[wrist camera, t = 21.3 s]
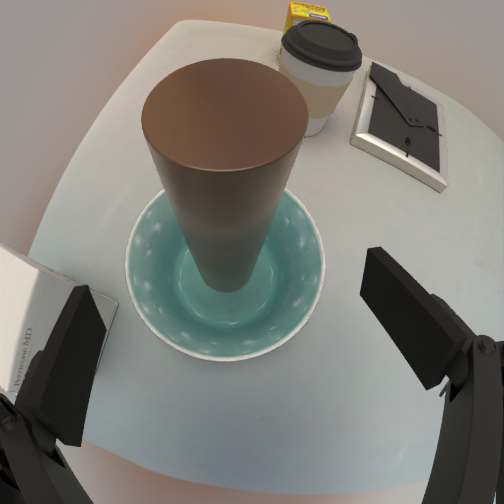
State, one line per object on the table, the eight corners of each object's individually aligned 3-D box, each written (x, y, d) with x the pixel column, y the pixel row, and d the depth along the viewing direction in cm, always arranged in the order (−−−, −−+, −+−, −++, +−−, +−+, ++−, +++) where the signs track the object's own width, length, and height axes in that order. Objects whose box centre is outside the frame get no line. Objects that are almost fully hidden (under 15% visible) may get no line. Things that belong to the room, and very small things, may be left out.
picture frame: (367, 72, 42) (349, 143, 36) (372, 61, 39) (357, 131, 33) (438, 111, 41) (440, 193, 35) (445, 102, 39) (450, 184, 33)
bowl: (129, 245, 30) (100, 215, 22) (256, 186, 33) (264, 142, 25) (191, 380, 26) (177, 396, 18) (326, 308, 29) (360, 297, 22)
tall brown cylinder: (208, 300, 21) (156, 197, 5) (192, 249, 22) (133, 78, 6) (260, 282, 21) (338, 149, 6) (242, 233, 22) (270, 50, 7)
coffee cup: (266, 138, 35) (286, 42, 21) (268, 93, 38) (283, 7, 23) (333, 147, 35) (377, 63, 21) (327, 102, 38) (359, 24, 24)
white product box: (96, 378, 25) (6, 398, 11) (37, 341, 25) (-55, 332, 11) (121, 301, 28) (40, 268, 14) (60, 271, 28) (-25, 226, 14)
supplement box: (312, 53, 42) (326, 6, 32) (315, 71, 40) (332, 21, 30) (279, 48, 42) (289, 0, 31) (280, 66, 40) (291, 13, 29)
